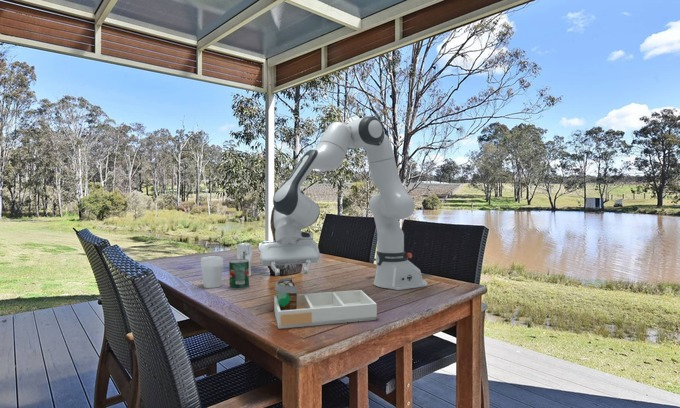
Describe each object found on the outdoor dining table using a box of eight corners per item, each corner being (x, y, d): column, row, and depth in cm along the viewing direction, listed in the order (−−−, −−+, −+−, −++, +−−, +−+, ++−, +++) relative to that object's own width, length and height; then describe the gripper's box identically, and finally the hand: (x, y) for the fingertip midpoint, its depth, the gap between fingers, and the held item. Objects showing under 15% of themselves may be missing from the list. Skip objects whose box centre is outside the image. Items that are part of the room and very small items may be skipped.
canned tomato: (225, 287, 156) (225, 260, 156) (242, 283, 162) (242, 258, 162) (236, 290, 151) (235, 263, 150) (253, 286, 157) (252, 260, 156)
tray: (361, 304, 133) (361, 289, 133) (377, 320, 116) (377, 304, 116) (274, 310, 126) (274, 295, 125) (278, 329, 109) (278, 312, 109)
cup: (196, 287, 155) (195, 258, 155) (211, 282, 164) (210, 255, 163) (213, 290, 152) (213, 260, 151) (228, 284, 160) (227, 256, 160)
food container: (273, 308, 124) (273, 278, 124) (291, 306, 126) (292, 277, 125) (276, 320, 112) (276, 287, 112) (297, 319, 114) (297, 286, 114)
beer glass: (248, 277, 172) (248, 245, 172) (234, 277, 174) (233, 244, 173) (254, 274, 179) (254, 243, 178) (241, 273, 180) (240, 242, 180)
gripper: (258, 236, 128) (259, 270, 119) (317, 233, 133) (323, 266, 124) (257, 247, 133) (259, 281, 124) (315, 244, 138) (320, 276, 129)
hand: (291, 273), depth 124 cm, fingers open, 8 cm apart
